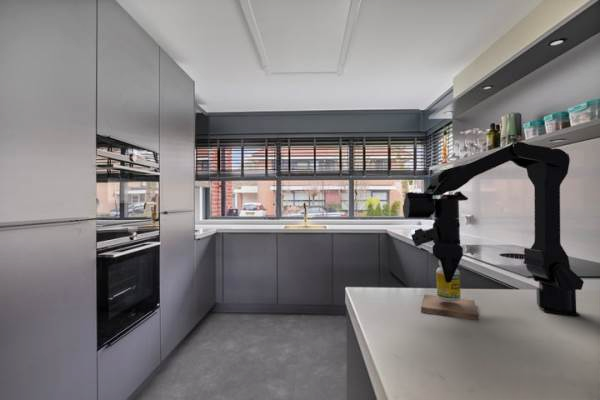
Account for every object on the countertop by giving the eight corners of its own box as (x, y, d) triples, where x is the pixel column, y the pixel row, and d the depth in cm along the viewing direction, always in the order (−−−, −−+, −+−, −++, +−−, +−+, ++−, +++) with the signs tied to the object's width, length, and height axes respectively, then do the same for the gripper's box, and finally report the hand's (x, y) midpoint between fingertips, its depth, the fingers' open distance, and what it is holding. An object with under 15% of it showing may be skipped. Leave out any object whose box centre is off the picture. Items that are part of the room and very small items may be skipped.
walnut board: (474, 304, 76) (473, 300, 76) (478, 320, 65) (478, 314, 65) (424, 298, 81) (424, 294, 81) (421, 311, 71) (420, 306, 71)
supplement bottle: (444, 294, 77) (443, 257, 77) (464, 299, 73) (463, 260, 73) (432, 297, 74) (431, 259, 74) (453, 303, 70) (452, 262, 70)
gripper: (416, 217, 86) (417, 270, 85) (409, 219, 69) (410, 284, 69) (458, 217, 81) (460, 273, 80) (462, 219, 64) (464, 290, 64)
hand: (448, 279), depth 73 cm, fingers closed on supplement bottle, 5 cm apart
